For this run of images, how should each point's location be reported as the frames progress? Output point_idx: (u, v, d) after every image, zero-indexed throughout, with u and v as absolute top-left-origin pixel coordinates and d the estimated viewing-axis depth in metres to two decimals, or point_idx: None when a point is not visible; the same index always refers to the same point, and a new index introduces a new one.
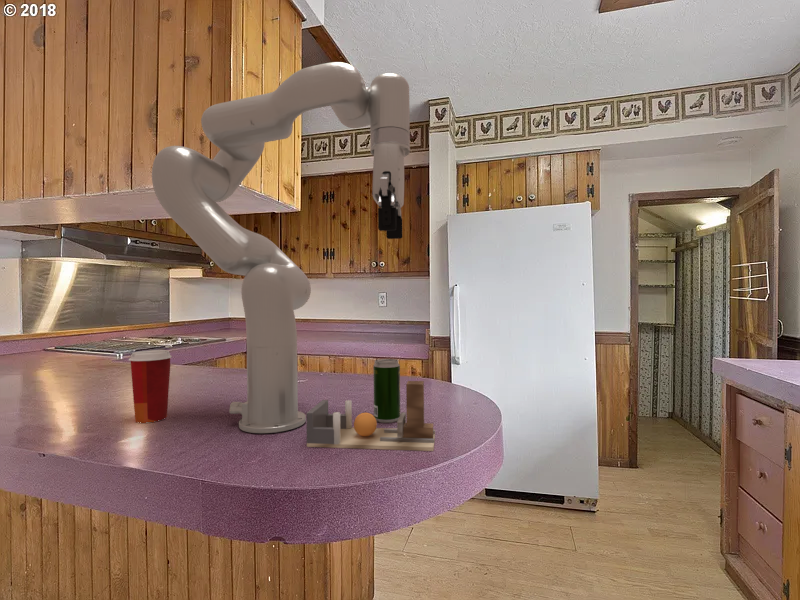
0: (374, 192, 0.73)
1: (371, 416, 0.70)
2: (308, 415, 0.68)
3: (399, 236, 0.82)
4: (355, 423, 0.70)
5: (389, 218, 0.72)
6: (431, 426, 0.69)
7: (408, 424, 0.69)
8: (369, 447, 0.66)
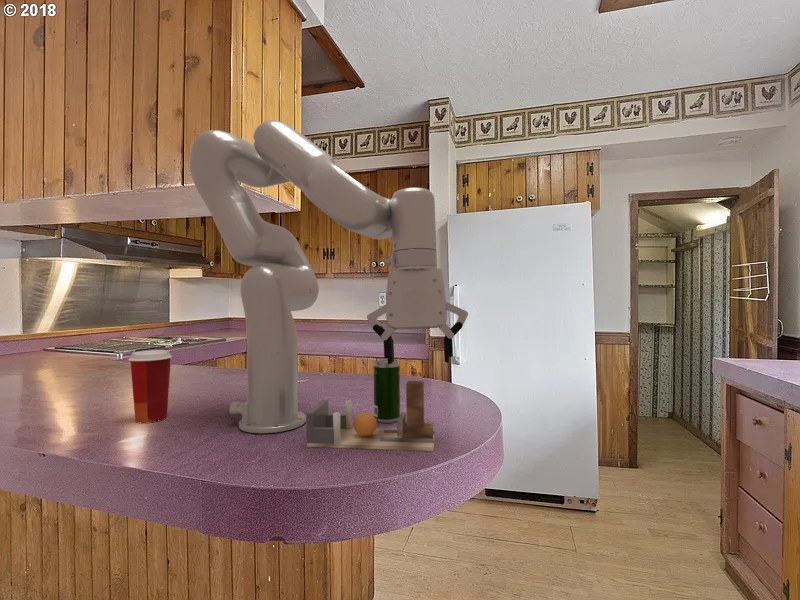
0: (445, 321, 0.67)
1: (371, 416, 0.70)
2: (308, 415, 0.68)
3: (393, 359, 0.71)
4: (355, 423, 0.70)
5: None
6: (431, 426, 0.69)
7: (408, 424, 0.69)
8: (369, 447, 0.66)
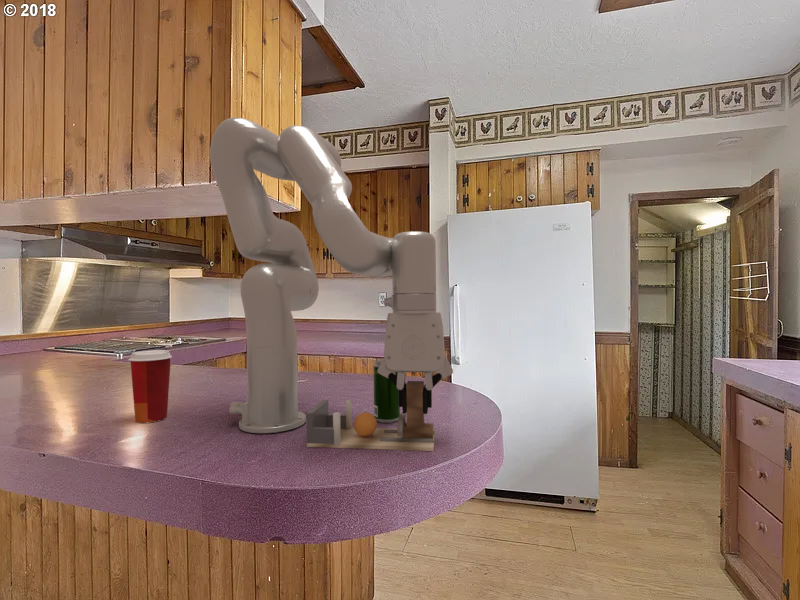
0: (443, 366, 0.67)
1: (371, 416, 0.70)
2: (308, 415, 0.68)
3: None
4: (355, 423, 0.70)
5: (431, 400, 0.70)
6: (431, 426, 0.69)
7: (408, 424, 0.69)
8: (369, 447, 0.66)
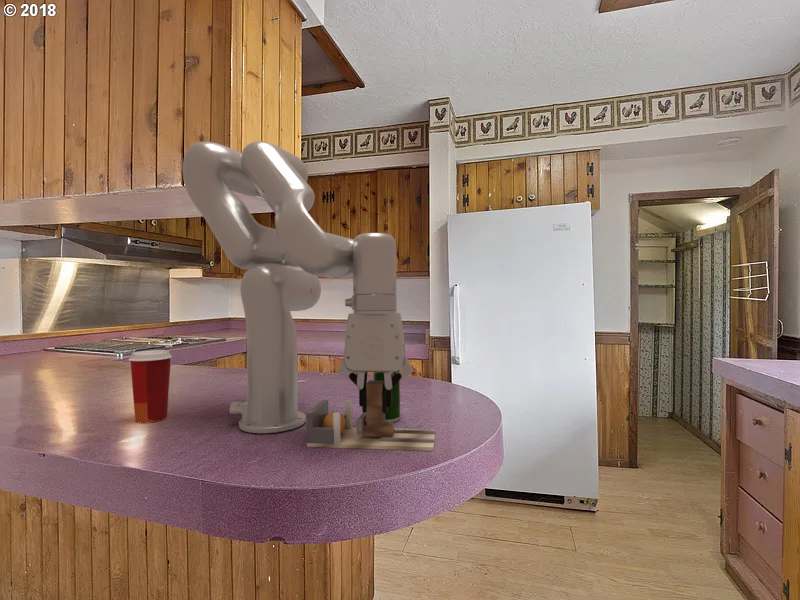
0: (401, 366, 0.68)
1: (323, 423, 0.71)
2: (308, 415, 0.68)
3: None
4: None
5: None
6: (391, 425, 0.70)
7: (368, 423, 0.69)
8: (369, 447, 0.66)
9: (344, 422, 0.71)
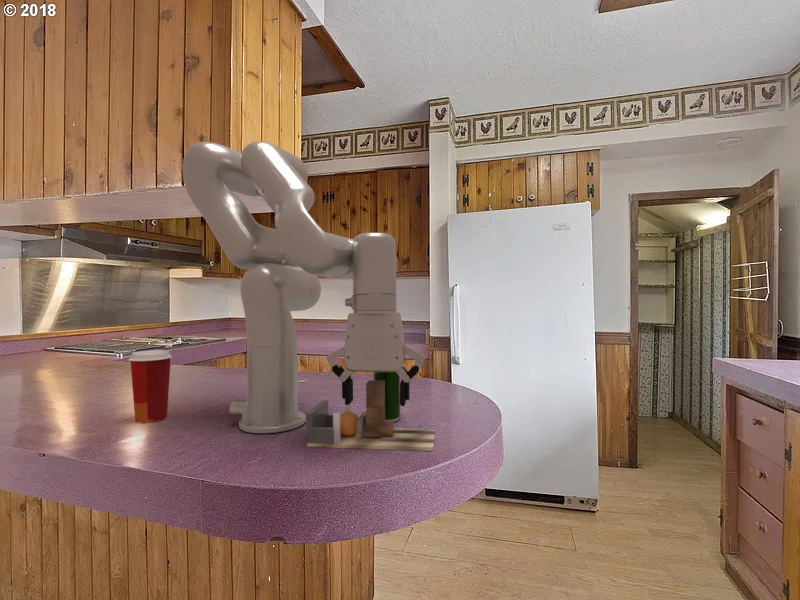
0: (401, 366, 0.68)
1: (345, 413, 0.71)
2: (308, 415, 0.68)
3: (352, 399, 0.72)
4: None
5: (409, 392, 0.71)
6: (391, 425, 0.70)
7: (368, 423, 0.69)
8: (369, 447, 0.66)
9: (353, 434, 0.71)
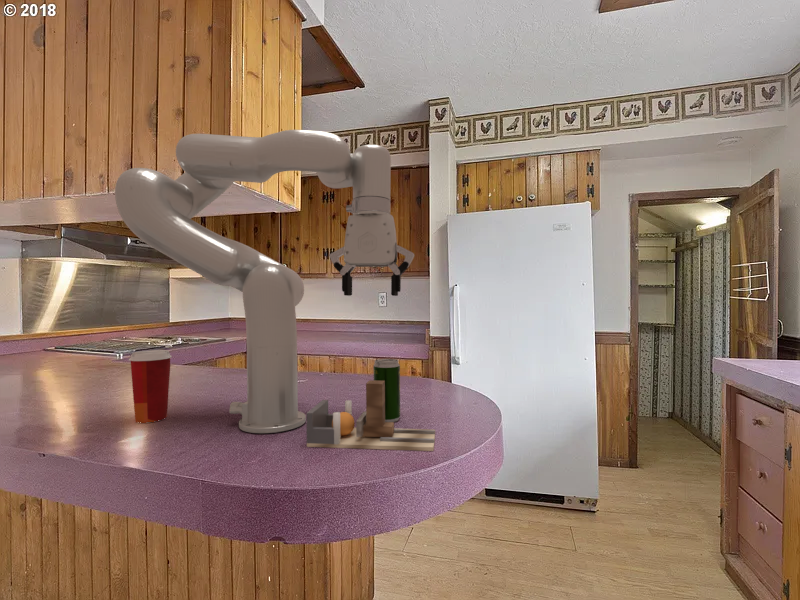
0: (392, 259, 0.78)
1: None
2: (308, 415, 0.68)
3: (351, 294, 0.83)
4: None
5: (400, 286, 0.81)
6: (391, 425, 0.70)
7: (368, 423, 0.69)
8: (369, 447, 0.66)
9: (351, 431, 0.71)
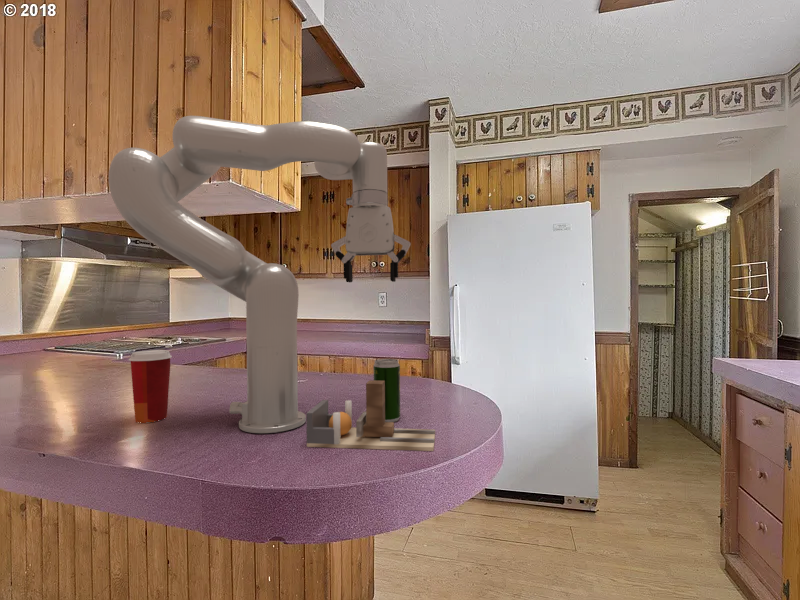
0: (391, 248, 0.85)
1: None
2: (308, 415, 0.68)
3: (352, 280, 0.90)
4: None
5: None
6: (391, 425, 0.70)
7: (368, 423, 0.69)
8: (369, 447, 0.66)
9: (349, 428, 0.71)
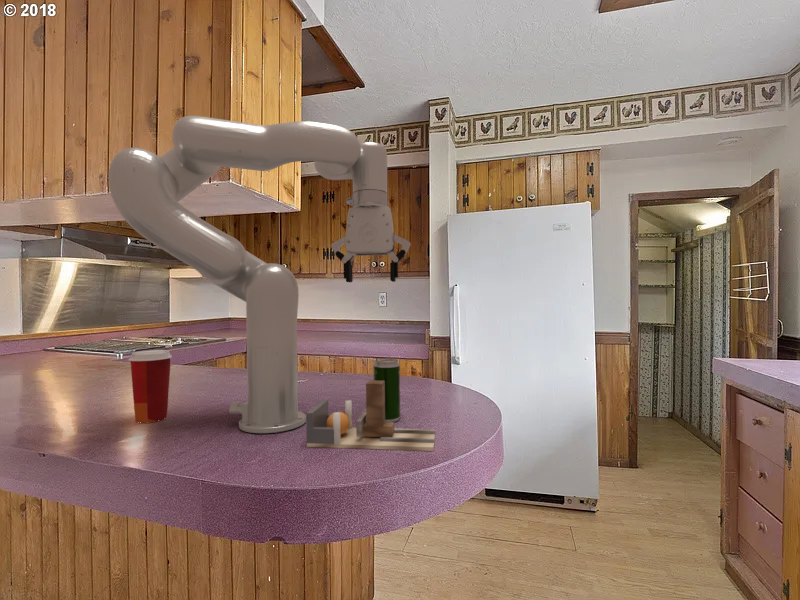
0: (391, 248, 0.85)
1: (327, 419, 0.71)
2: (308, 415, 0.68)
3: (352, 280, 0.90)
4: None
5: None
6: (391, 425, 0.70)
7: (368, 423, 0.69)
8: (369, 447, 0.66)
9: (348, 426, 0.71)
